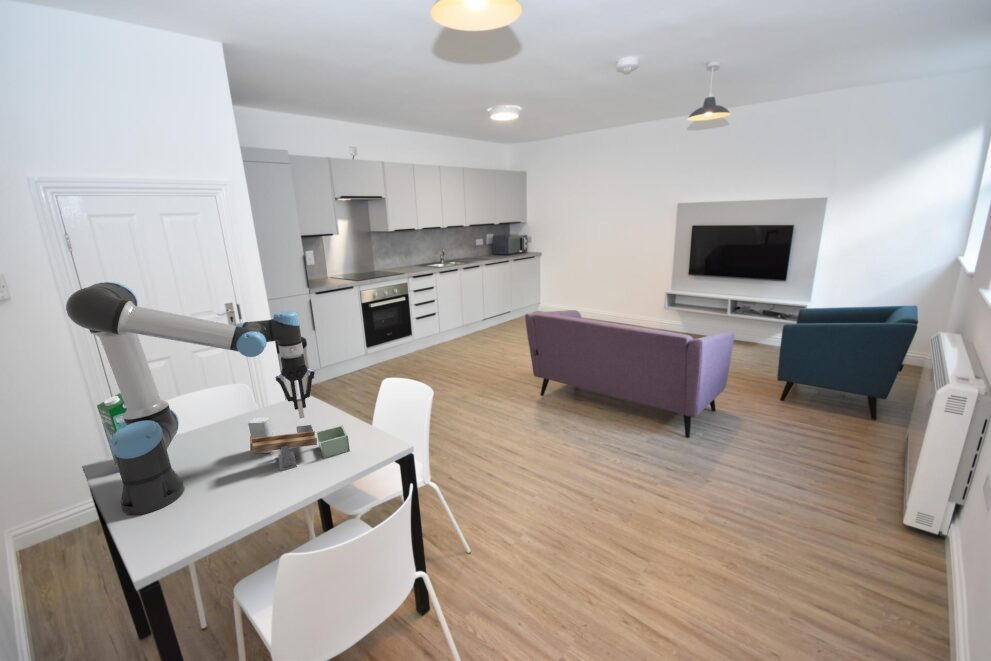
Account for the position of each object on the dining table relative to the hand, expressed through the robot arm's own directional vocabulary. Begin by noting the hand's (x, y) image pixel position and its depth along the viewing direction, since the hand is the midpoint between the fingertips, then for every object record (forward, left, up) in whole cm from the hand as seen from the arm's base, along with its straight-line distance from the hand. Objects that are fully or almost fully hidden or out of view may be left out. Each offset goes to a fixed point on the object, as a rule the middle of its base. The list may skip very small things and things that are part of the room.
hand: (301, 416), depth 158 cm
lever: (-7, -6, -4) cm, 10 cm away
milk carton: (-54, +21, -11) cm, 59 cm away
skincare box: (-14, +3, -11) cm, 18 cm away
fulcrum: (-7, -10, -11) cm, 16 cm away
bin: (+8, -10, -11) cm, 17 cm away
